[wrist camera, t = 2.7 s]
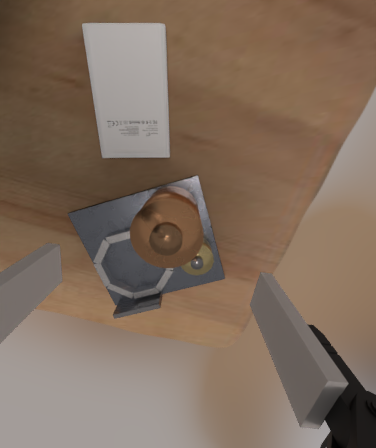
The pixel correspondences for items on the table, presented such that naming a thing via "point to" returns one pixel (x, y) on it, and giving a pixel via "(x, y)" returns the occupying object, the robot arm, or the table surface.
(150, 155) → the external hard drive
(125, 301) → the plate
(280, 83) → the table surface
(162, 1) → the table surface
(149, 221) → the copper knobbed cylinder
